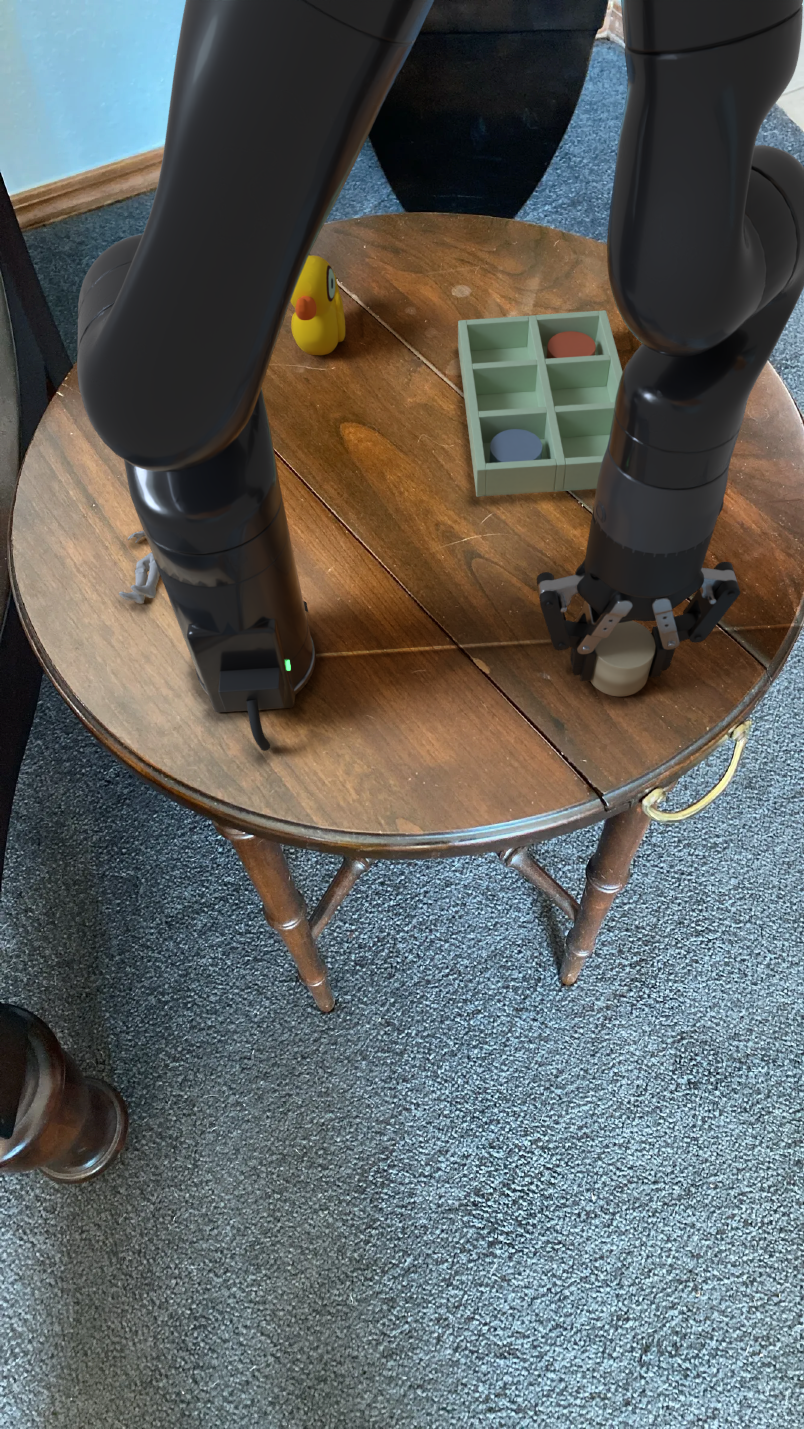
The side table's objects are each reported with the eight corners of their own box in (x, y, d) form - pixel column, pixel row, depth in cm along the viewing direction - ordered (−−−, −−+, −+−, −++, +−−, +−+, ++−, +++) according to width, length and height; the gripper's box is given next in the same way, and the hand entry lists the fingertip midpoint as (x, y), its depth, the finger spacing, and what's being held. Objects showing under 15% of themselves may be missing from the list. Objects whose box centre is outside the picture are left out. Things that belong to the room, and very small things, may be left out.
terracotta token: (596, 376, 93) (599, 358, 92) (549, 380, 93) (550, 362, 92) (589, 347, 96) (591, 329, 94) (543, 350, 96) (544, 332, 94)
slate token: (543, 479, 86) (545, 462, 84) (491, 483, 86) (492, 465, 84) (537, 444, 88) (539, 427, 87) (487, 447, 88) (487, 430, 87)
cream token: (652, 695, 73) (661, 666, 70) (591, 698, 73) (597, 669, 70) (642, 646, 76) (649, 617, 73) (582, 650, 76) (588, 620, 73)
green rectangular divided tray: (601, 342, 97) (606, 309, 94) (639, 490, 85) (646, 458, 82) (458, 352, 97) (458, 319, 94) (476, 501, 86) (477, 470, 83)
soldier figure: (103, 604, 82) (134, 477, 85) (156, 622, 85) (184, 499, 88) (139, 584, 76) (172, 448, 79) (195, 604, 79) (224, 473, 82)
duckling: (339, 384, 95) (328, 291, 87) (286, 383, 96) (270, 290, 88) (354, 314, 102) (345, 221, 93) (304, 313, 102) (290, 221, 94)
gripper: (757, 457, 62) (701, 626, 76) (533, 470, 62) (518, 636, 76) (787, 543, 58) (722, 705, 72) (547, 557, 58) (528, 715, 72)
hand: (617, 669), depth 74 cm, fingers closed on cream token, 4 cm apart
